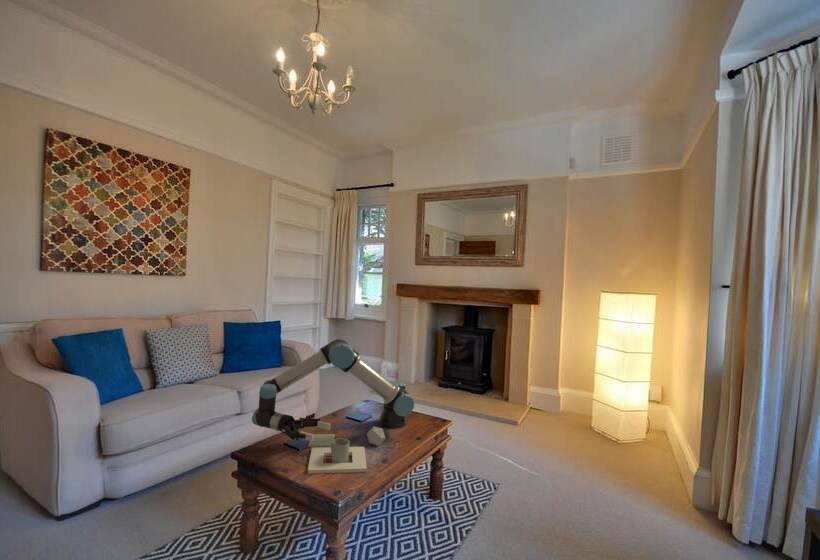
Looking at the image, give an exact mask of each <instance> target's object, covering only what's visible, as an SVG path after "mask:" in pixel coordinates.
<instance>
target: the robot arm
mask: <svg viewBox="0 0 820 560" xmlns="http://www.w3.org/2000/svg"><path fill="white" fill-rule="evenodd" d="M330 364H332V365H333V366H334V367H336V368H337V369H339V370H341V372H343V373H345V374H347V373H350V374H351V375H352V376H353V377H355V378H356V379H358V381H360V382H362V383H363V384H364V385H366V387H368V388H369V389H371V390H372V392H374V393H376V395H378V396H379V397H381V398H382V399H383V408H382V411H381V414H380V417H379V424H380V425H381V426H383V427H386V428H391V429H399V428H403V427H404V426H406V425H407V417H406V416H408V415H410V414H411V413H412V412H413V410H414V409H415V408H414V407H415V399H414V397H413V396H412V395H411V394H410V393H409V392H408V391H407V390H406V383H405V382H403V381H389V379H387V378H386V377H384V376H383V375H382V374H380V372H378V371H377V370H375V368H373V367H371V365H369V364H368V363H367V362H365V361H364V360H363V359H362V358H361V355H360V353H359V352H358V351H357V350H355V349H354V348H353V347H352V346H351V345H349V343H348V342H347V341H345V340H343V339H334V340H332V341H330V342H329V343H327V344H325V345H324V346H322V347H321V348H320V349H319V350H318V352H316V353H315V354H312V355H311V356H309V357H308V358H306V359H304V360H303V361H301V362H298V363H297V364H296V365H293V367H291V368H289V369H287V370H285V371H284V372H283V373H281V374H279V375H277V376H275V377H274V378H272V379H269V380H266V381H265V382H264V383H263V384H262V385H261V386H260V387H259V392H258V394H259V395H258V398H259V399H258V408H257V409H255V411H253V415H252V416H251V421H252V423H253V424H254V425H256V426H258V427H260V428H261V427H262V428H266V429H271V430H274V431H276V432H281V433H282V434H285V435H286V436H287V437H288V438H290V440H293V441H294V440H295V441H298V440H300V439H301V440H305V441H308V442H309V441H313V433H309V432H305V431H299V430H300V429H304V428H309V427H310V428H311V427H316V428H318V429H319V428H320V429H323V430H327V431H331V423H330V422H324V421H321V419H320V418H307V417H299V419H295V418H294V416H292V415H290V414H285V413H281V412H278V411H276V403H277V402H276V401H277V394H279V393H281V392H282V391H284V390H286V389H287V388H289V387H290V386H292V385H294V384H296V383H297V382H299V381H300V380H302V379H304V378H306V377H308V376H309V375H310V374H312V373H313V372H315V371H317V370H318V369H320V368H323V367H324V366H325V365H330Z"/></svg>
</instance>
